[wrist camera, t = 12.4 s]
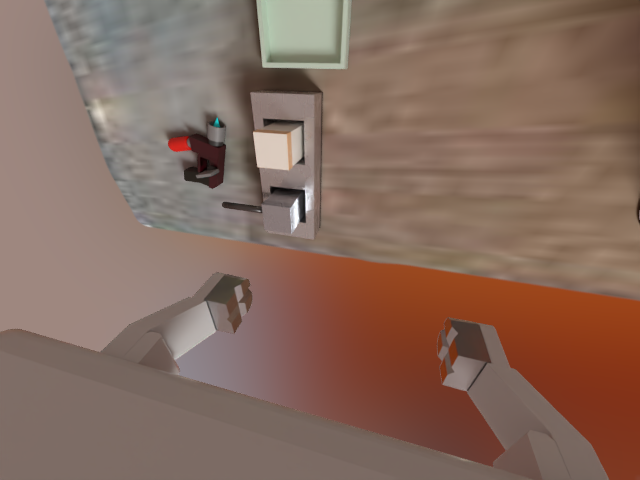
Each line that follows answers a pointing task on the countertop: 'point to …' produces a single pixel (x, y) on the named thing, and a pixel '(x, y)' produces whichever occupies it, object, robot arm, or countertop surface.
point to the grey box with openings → (303, 178)
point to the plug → (279, 144)
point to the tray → (304, 33)
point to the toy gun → (204, 154)
